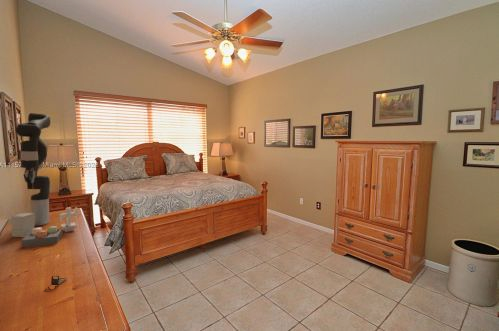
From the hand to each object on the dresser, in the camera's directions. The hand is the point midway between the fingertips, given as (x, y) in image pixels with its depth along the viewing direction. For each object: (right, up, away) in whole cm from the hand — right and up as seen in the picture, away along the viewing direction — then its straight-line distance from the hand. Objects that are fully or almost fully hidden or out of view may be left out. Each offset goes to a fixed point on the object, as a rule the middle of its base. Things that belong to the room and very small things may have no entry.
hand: (30, 188), depth 139 cm
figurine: (+11, -29, +16) cm, 34 cm away
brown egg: (+11, -29, -5) cm, 32 cm away
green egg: (+11, -29, +2) cm, 31 cm away
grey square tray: (+10, -30, -2) cm, 31 cm away
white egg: (+5, -29, -1) cm, 29 cm away
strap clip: (+50, -35, -43) cm, 75 cm away
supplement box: (-8, -29, +5) cm, 30 cm away
